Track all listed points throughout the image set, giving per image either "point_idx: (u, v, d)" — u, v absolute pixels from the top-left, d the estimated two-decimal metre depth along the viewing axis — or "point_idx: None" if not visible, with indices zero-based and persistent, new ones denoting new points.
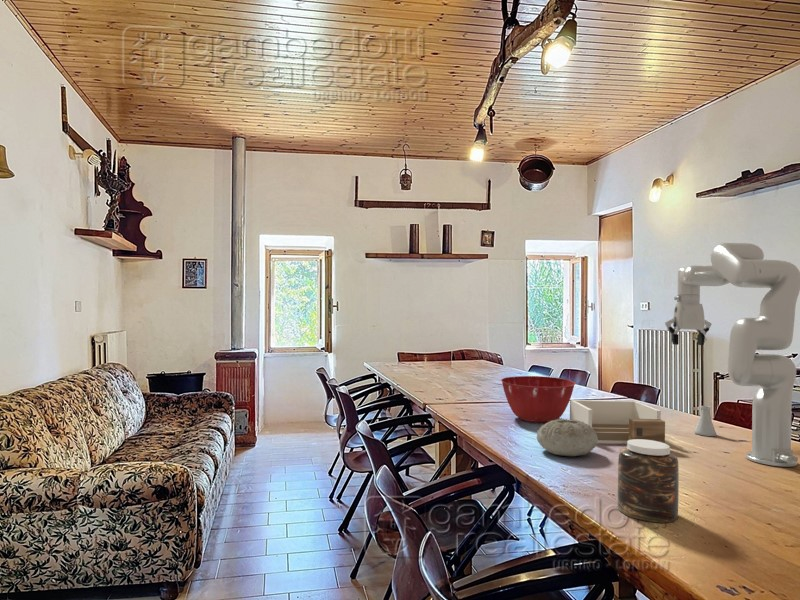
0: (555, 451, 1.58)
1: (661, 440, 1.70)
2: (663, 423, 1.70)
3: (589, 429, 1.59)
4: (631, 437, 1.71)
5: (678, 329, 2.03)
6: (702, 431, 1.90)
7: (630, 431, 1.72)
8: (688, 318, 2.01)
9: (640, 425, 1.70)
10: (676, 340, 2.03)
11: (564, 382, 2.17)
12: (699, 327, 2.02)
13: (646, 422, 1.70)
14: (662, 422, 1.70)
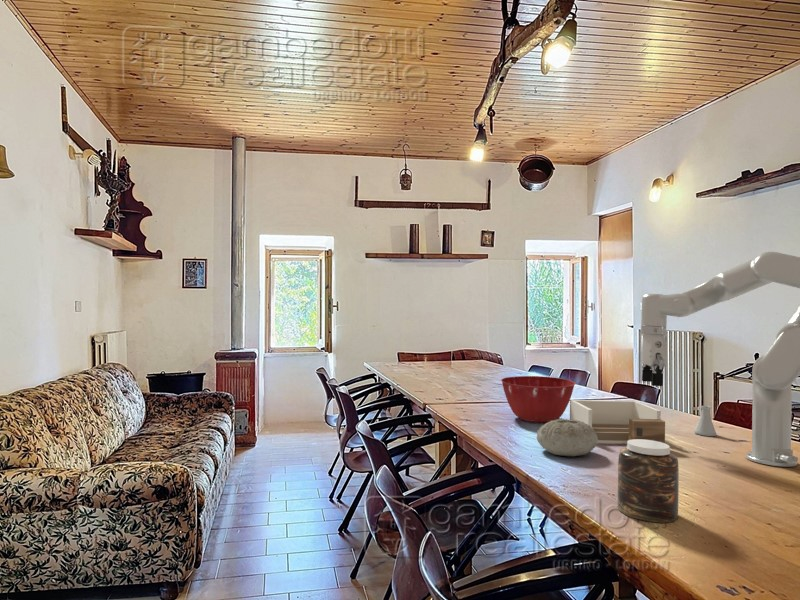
0: (555, 451, 1.58)
1: (661, 440, 1.70)
2: (663, 423, 1.70)
3: (589, 429, 1.59)
4: (631, 437, 1.71)
5: None
6: (702, 431, 1.90)
7: (630, 431, 1.72)
8: None
9: (640, 425, 1.70)
10: (661, 381, 1.71)
11: (564, 382, 2.17)
12: None
13: (646, 422, 1.70)
14: (662, 422, 1.70)
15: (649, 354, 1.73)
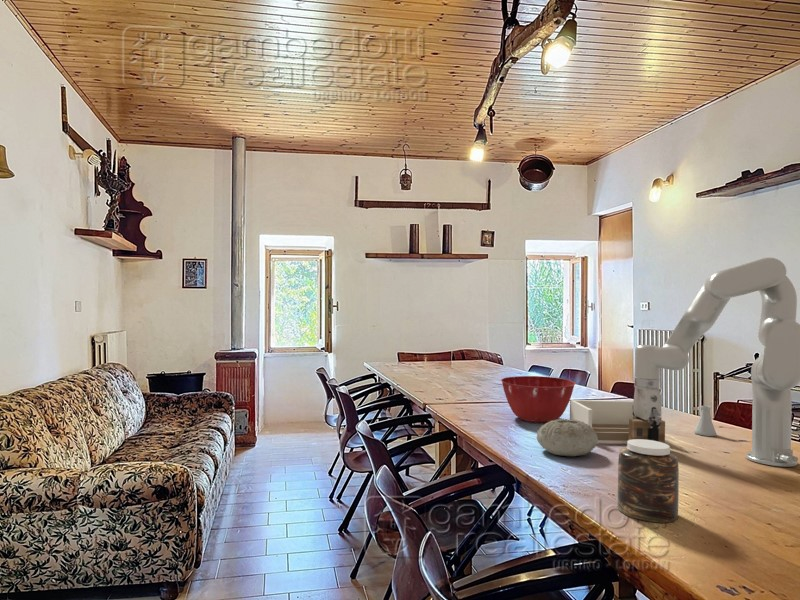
0: (555, 451, 1.58)
1: (661, 440, 1.70)
2: (663, 423, 1.70)
3: (589, 429, 1.59)
4: (631, 437, 1.71)
5: None
6: (702, 431, 1.90)
7: (630, 431, 1.72)
8: None
9: (640, 425, 1.70)
10: (657, 436, 1.66)
11: (564, 382, 2.17)
12: None
13: (646, 422, 1.70)
14: (662, 422, 1.70)
15: (644, 408, 1.68)
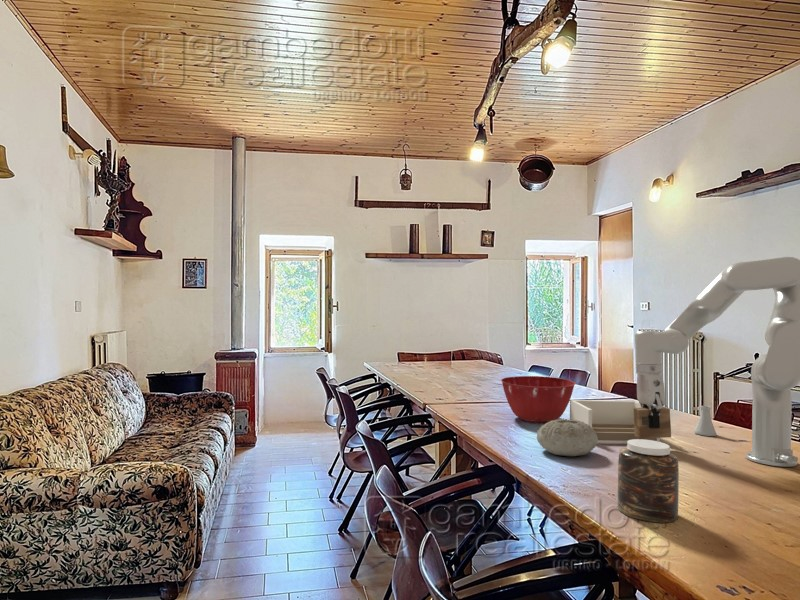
0: (555, 451, 1.58)
1: (667, 427, 1.69)
2: (668, 410, 1.69)
3: (589, 429, 1.59)
4: (637, 426, 1.71)
5: None
6: (702, 431, 1.90)
7: (635, 420, 1.71)
8: None
9: (645, 414, 1.69)
10: (658, 423, 1.69)
11: (564, 382, 2.17)
12: None
13: None
14: (667, 409, 1.69)
15: (648, 393, 1.68)
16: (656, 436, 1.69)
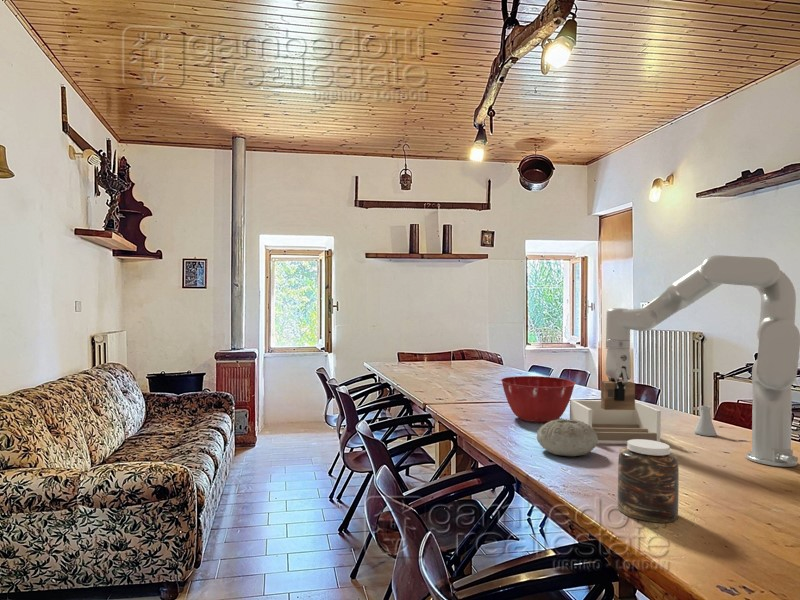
0: (555, 451, 1.58)
1: (631, 401, 1.78)
2: (633, 384, 1.78)
3: (589, 429, 1.59)
4: (603, 398, 1.80)
5: None
6: (702, 431, 1.90)
7: (602, 393, 1.81)
8: None
9: (611, 387, 1.78)
10: (623, 396, 1.78)
11: (564, 382, 2.17)
12: None
13: None
14: (632, 383, 1.78)
15: (615, 367, 1.77)
16: (620, 408, 1.78)
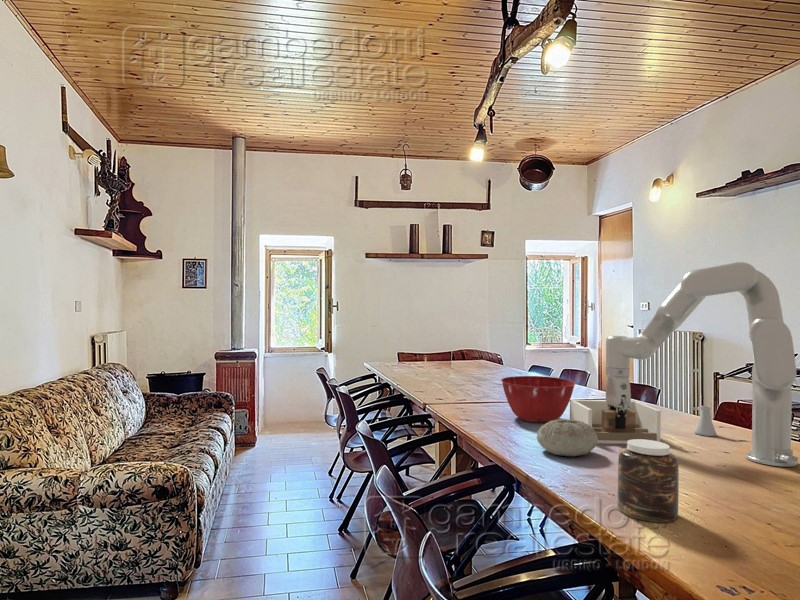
0: (555, 451, 1.58)
1: (632, 430, 1.78)
2: (634, 414, 1.78)
3: (589, 429, 1.59)
4: (603, 427, 1.80)
5: None
6: (702, 431, 1.90)
7: (602, 421, 1.80)
8: None
9: (612, 416, 1.78)
10: (624, 424, 1.77)
11: (564, 382, 2.17)
12: None
13: None
14: (633, 413, 1.78)
15: (615, 396, 1.76)
16: None
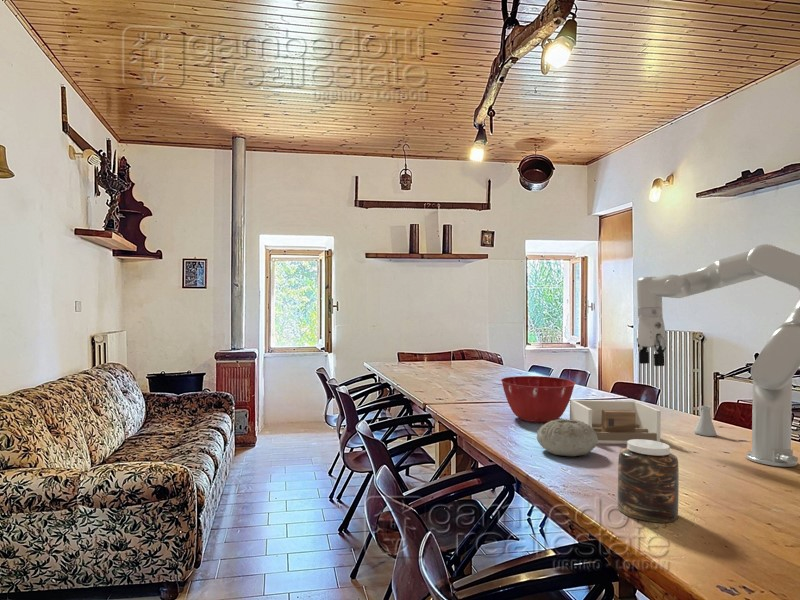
0: (555, 451, 1.58)
1: (632, 430, 1.78)
2: (634, 414, 1.78)
3: (589, 429, 1.59)
4: (603, 427, 1.80)
5: None
6: (702, 431, 1.90)
7: (602, 421, 1.80)
8: None
9: (612, 416, 1.78)
10: (663, 361, 1.74)
11: (564, 382, 2.17)
12: None
13: (618, 413, 1.78)
14: (633, 413, 1.78)
15: (649, 335, 1.76)
16: None
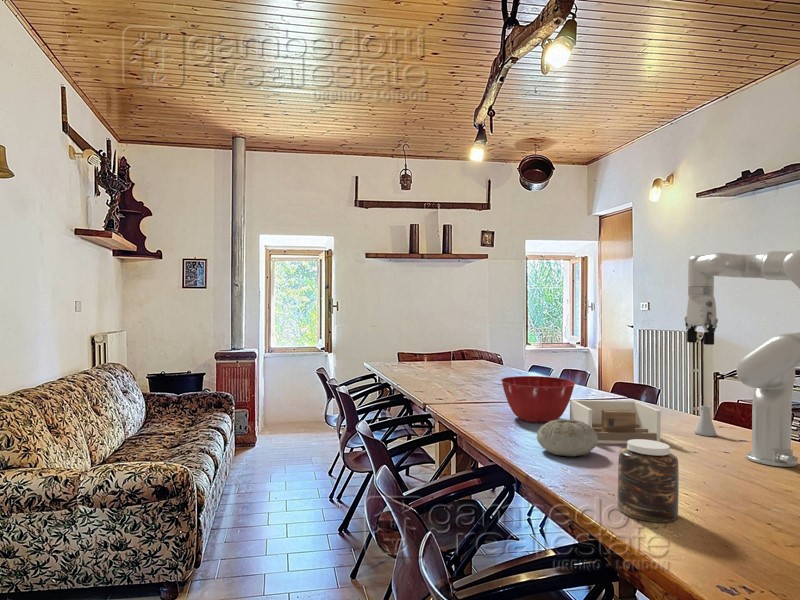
0: (555, 451, 1.58)
1: (632, 430, 1.78)
2: (634, 414, 1.78)
3: (589, 429, 1.59)
4: (603, 427, 1.80)
5: None
6: (702, 431, 1.90)
7: (602, 421, 1.80)
8: None
9: (612, 416, 1.78)
10: (712, 339, 1.74)
11: (564, 382, 2.17)
12: None
13: (618, 413, 1.78)
14: (633, 413, 1.78)
15: (700, 314, 1.75)
16: None
